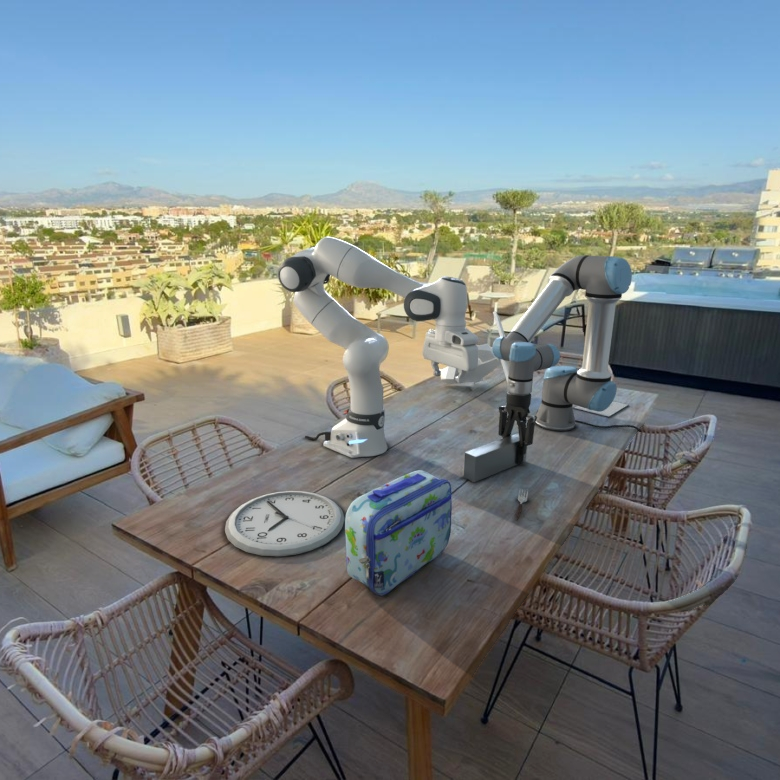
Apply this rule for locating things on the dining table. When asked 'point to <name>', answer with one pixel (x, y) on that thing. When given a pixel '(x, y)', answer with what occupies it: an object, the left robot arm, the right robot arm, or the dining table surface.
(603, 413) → the invitation card
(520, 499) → the fork
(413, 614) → the dining table surface
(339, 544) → the dining table surface
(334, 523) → the wall clock
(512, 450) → the bar
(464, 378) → the white plastic object
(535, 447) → the dining table surface
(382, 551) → the lunch box
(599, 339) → the right robot arm
